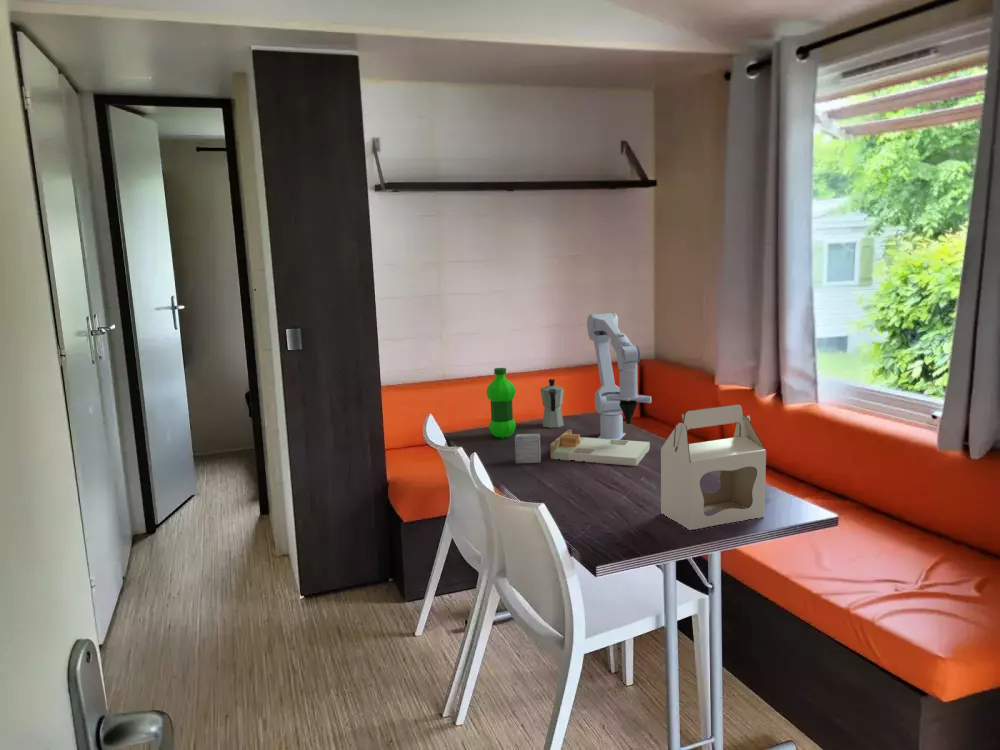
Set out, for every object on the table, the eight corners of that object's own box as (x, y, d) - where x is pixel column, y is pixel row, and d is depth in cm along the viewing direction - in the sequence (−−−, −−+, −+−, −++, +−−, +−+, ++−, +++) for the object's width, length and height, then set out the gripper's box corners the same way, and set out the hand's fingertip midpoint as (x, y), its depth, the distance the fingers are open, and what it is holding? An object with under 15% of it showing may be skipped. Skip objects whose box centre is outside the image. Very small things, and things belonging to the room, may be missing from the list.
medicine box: (541, 459, 244) (540, 433, 242) (540, 463, 240) (539, 437, 238) (516, 459, 245) (515, 433, 243) (515, 463, 240) (514, 437, 239)
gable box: (733, 500, 200) (734, 397, 195) (765, 517, 188) (768, 408, 183) (659, 514, 193) (659, 407, 188) (688, 532, 181) (689, 418, 176)
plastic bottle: (487, 440, 269) (484, 371, 264) (491, 432, 279) (488, 366, 275) (515, 440, 268) (512, 371, 263) (518, 432, 278) (515, 365, 273)
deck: (569, 443, 261) (568, 429, 260) (649, 449, 250) (649, 434, 249) (550, 458, 244) (550, 443, 243) (636, 466, 233) (636, 450, 232)
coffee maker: (541, 422, 292) (539, 376, 289) (563, 421, 292) (562, 375, 288) (542, 432, 277) (540, 384, 274) (566, 431, 277) (564, 383, 274)
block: (565, 442, 253) (565, 433, 253) (579, 443, 251) (579, 434, 251) (561, 445, 249) (561, 437, 249) (575, 446, 247) (575, 438, 247)
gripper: (603, 384, 244) (604, 424, 247) (648, 385, 238) (648, 427, 241) (609, 380, 250) (609, 419, 253) (652, 381, 245) (653, 422, 247)
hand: (628, 423), depth 247 cm, fingers closed
